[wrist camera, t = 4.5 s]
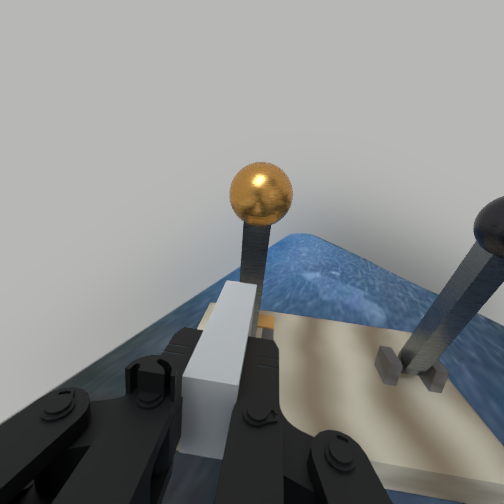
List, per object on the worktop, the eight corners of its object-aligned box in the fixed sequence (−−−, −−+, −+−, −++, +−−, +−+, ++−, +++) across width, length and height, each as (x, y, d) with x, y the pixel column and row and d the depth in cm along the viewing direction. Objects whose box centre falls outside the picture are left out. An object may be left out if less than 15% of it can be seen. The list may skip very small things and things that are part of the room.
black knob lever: (420, 353, 25) (550, 186, 15) (436, 393, 22) (609, 219, 12) (380, 347, 25) (483, 178, 15) (391, 386, 22) (525, 208, 13)
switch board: (406, 347, 32) (416, 316, 30) (525, 514, 16) (554, 465, 15) (209, 317, 33) (211, 286, 32) (149, 445, 18) (149, 395, 16)
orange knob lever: (267, 330, 26) (297, 157, 16) (263, 365, 23) (298, 181, 13) (229, 324, 26) (236, 150, 16) (221, 359, 23) (223, 172, 13)
